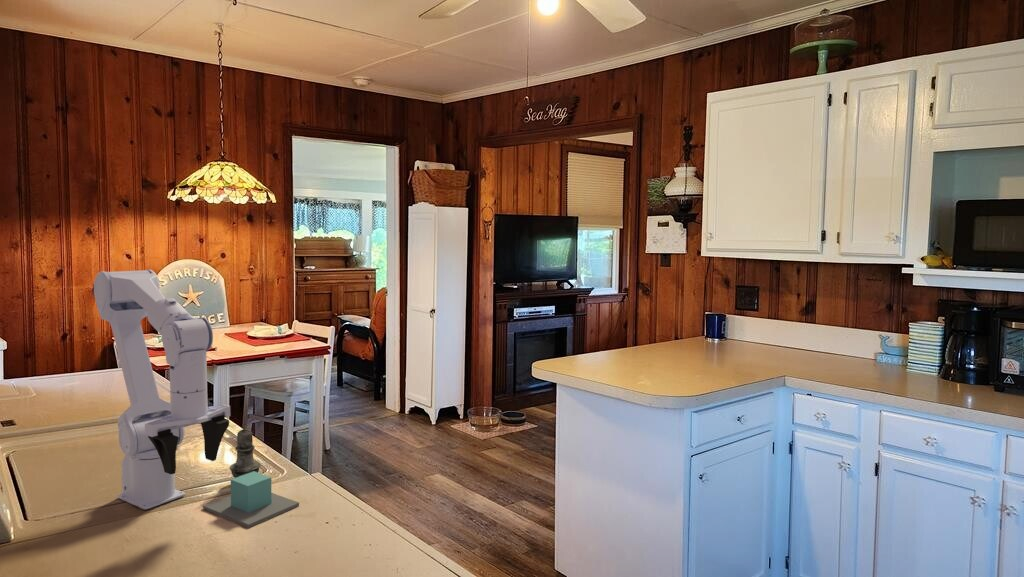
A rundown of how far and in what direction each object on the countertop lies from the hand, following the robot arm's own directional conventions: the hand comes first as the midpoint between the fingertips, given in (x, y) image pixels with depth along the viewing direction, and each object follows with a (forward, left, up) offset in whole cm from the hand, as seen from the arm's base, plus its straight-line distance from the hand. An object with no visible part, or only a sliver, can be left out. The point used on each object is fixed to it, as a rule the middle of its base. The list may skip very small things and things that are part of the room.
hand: (190, 466), depth 117 cm
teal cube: (+3, +10, -10) cm, 14 cm away
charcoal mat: (+3, +10, -10) cm, 15 cm away
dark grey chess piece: (-8, +17, -11) cm, 21 cm away
